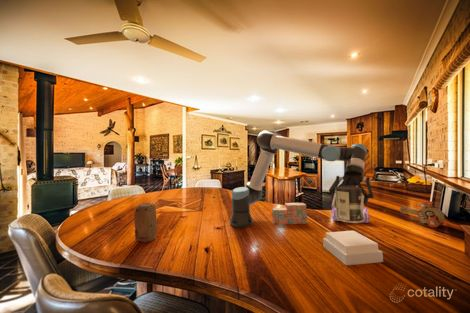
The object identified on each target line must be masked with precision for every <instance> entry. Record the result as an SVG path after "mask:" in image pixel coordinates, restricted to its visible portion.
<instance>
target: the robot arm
mask: <svg viewBox="0 0 470 313" xmlns="http://www.w3.org/2000/svg"><path fill="white" fill-rule="evenodd" d="M256 142H257V144H258V146H259V149H260V153H259V156H258V158H257V162H256V164H255V167H254V170H253V173H252V176H251V178H250V181H248V182H246V185H245V186H239V187H235V188H234V189H232V190H231V210H232V213H231V215H230V219H229V220H230V221H229V224H230V226H231V227H233V228H239V229H243V228H249V227H251V226H253V224H254V222H253V217H252V214H251V211H250V210H251V207H250V206H252V205H253V204H256V203H258V202H259V201H261V199H262V196H263V192H262V191H263V187H262V186H263V182H264V181H265V177H266V175H267V173H268V171H269V166H270V165H271V163H272V159H273V156H274V155H277V153H278V150H282V151H285V152H289V153H295V154H299V155H304V156H309V157H312V158H317V159H321V160H325V161H328V162H335V161H342V162H346V165H345V170H344V175H343V176H339V175H336V177H335V180H334V182H333V183H332V184H331V186H330V188H329V189H328V192H329V194H330V195H331V197H330V199H331V201H332V203H331V206H332V207H333V208H335V207H336V193H335V187H337V186H354V187H360V188H362V198H361V205H360V210H361V212H363V211H364V208H365V206H367V205H368V202H369V199H374V193H373V189H372V186H371V183H372V182H371V181H372V180H371V178H370V176H367V177H364V170H365V166H366V165H365V164H366V160H367V159H366V158H367V155H368V154H367V153H368V152H367V150H368V149H367V146H365V145H364V144H363V143H353V144H351V146H350V147H347V146H346V147H345V146H337V145H332V144H325V143H320V142H315V141H314V142H313V141H309V140H304V139H298V138H292V137H287V136H282V134H281V133H279V132H277V131H271V130H262V131H260V132H259V134H258V135H257V136H256ZM363 182H364V183H365V184H366V186H367V190H368V192H366V190H365V189H364V187H363V185H362V183H363Z"/></svg>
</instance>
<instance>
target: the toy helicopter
mask: <svg viewBox="0 0 470 313" xmlns="http://www.w3.org/2000/svg"><path fill="white" fill-rule="evenodd" d="M431 204H432V202H429V203H427V202H425V201H423V202H421V205H420V204H418V205H417V207H420V206H421V208H420V209H416V208H409V207H407V206H405V205H403V206H400V207H399V211H400V213H402V214H404V215H406V214H410V215H415V216H417V217H418V219H419V222H420V223H422V224H427V225H428V226H429V227H431V228H437V227H439V226H442V225H445V214H444V212H443V211H442V210H441V209H438V208H436V207H432V206H431V207H430V205H431Z"/></svg>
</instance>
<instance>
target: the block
mask: <svg viewBox="0 0 470 313" xmlns="http://www.w3.org/2000/svg"><path fill="white" fill-rule="evenodd" d="M133 221H134V222H133V223H134V228H135V229H134V238H135V241H137V242H140V241H141V242H142V243H149V242H152V241H153V240H155V238H156V235H157V233H158V232H157V228H158V227H157V226H158V225H157V224H158V222H157V207H156V204H155V203H153V202H152V203H150V202H146V203H145V202H144V203H140V204H138V205H137V206H136V207H135V209H134V213H133ZM141 242H140V243H141Z"/></svg>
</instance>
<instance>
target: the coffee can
mask: <svg viewBox="0 0 470 313" xmlns="http://www.w3.org/2000/svg"><path fill="white" fill-rule="evenodd" d="M335 193H336V218H337V219H338V220H340V221H339V222H344V223H349V224H359V223H360V224H361V223H364V222H363V212H361V210H360V205H361V198H362V196H363V194H362V188H360V187H358V186H339V185H338V186H337V187H335Z"/></svg>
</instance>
